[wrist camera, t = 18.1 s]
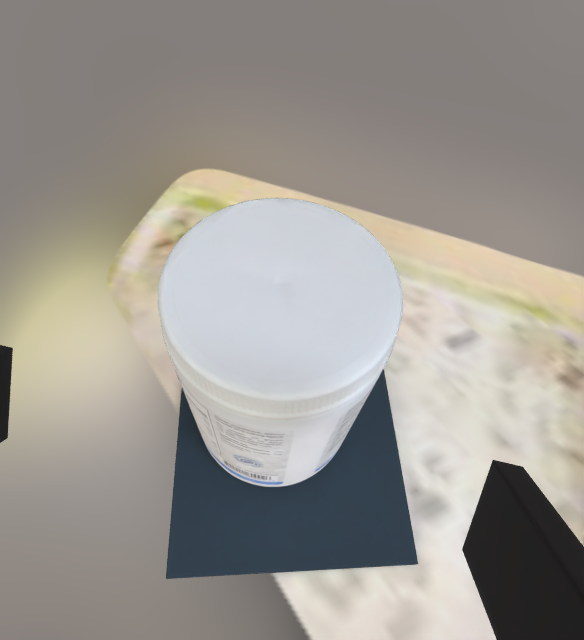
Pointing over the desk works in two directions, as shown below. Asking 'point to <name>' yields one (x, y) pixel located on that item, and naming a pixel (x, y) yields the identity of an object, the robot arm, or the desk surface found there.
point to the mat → (293, 507)
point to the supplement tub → (278, 332)
